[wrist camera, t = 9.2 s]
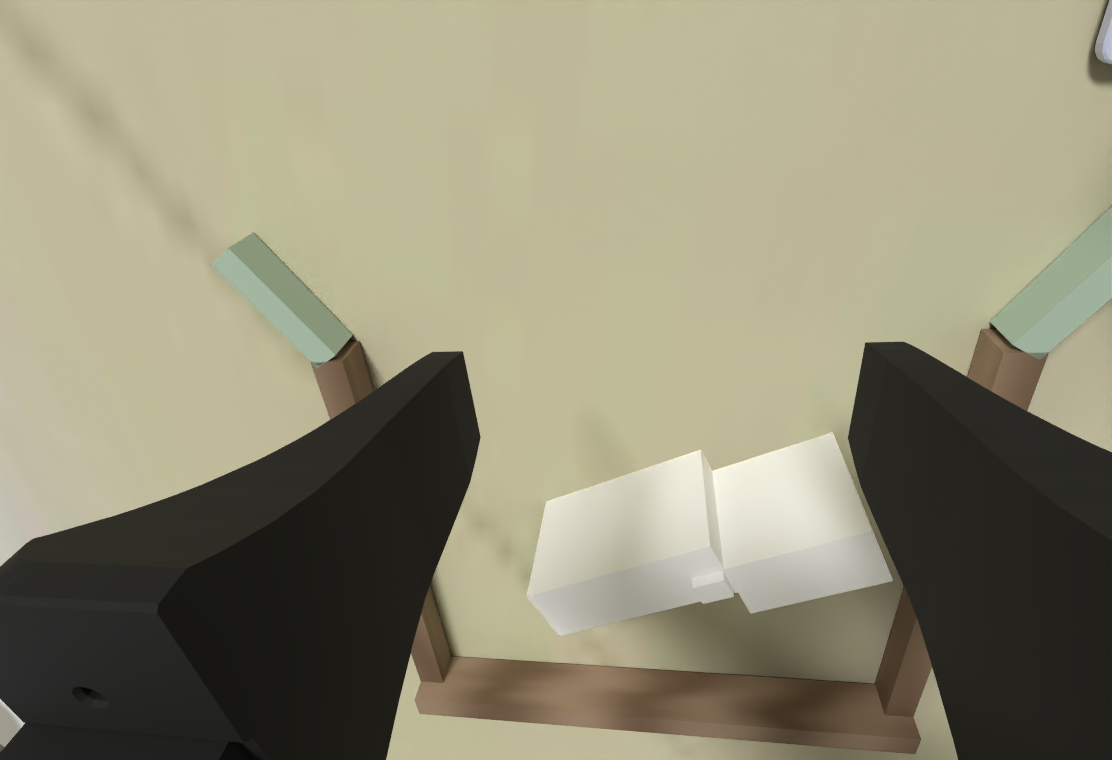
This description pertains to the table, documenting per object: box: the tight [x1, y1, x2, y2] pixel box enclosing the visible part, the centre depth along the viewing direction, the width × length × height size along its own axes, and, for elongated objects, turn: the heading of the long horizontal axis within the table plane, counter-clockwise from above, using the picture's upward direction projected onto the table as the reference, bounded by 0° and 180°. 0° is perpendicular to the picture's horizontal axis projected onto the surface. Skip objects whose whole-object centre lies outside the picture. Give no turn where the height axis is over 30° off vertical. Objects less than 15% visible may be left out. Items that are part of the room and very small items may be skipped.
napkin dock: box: [211, 207, 1112, 754], centre depth 25 cm, size 28×24×2 cm
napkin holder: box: [527, 432, 893, 636], centre depth 23 cm, size 15×11×6 cm
